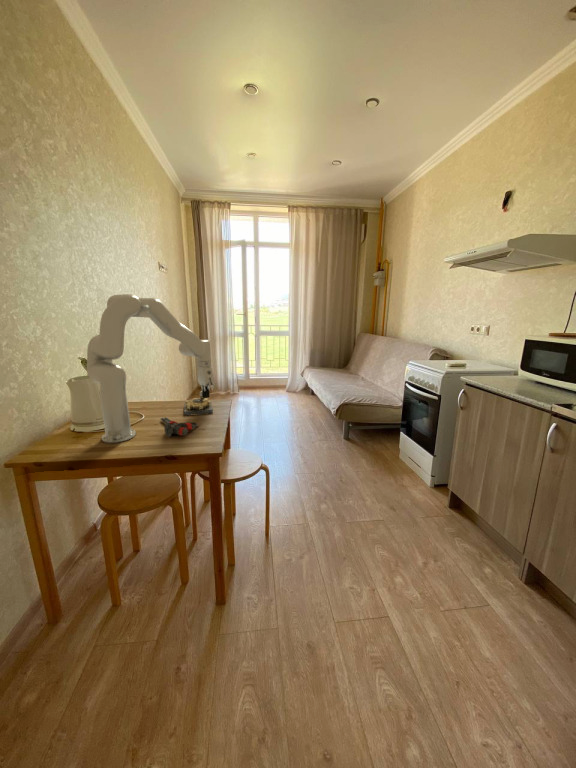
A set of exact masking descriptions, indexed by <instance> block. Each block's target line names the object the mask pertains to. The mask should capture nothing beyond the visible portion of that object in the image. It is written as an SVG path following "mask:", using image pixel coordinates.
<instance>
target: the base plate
mask: <svg viewBox="0 0 576 768" xmlns="http://www.w3.org/2000/svg"><path fill="white" fill-rule="evenodd" d="M209 401H210V403H211V405H210V406H208V407H206V408H203V409H187V406H186V405H185V404H184V407H183V409H184V410H183V411H184V412H183V413H184V414H183V415H188V416H192V415H191V414H198V415H203V414H202V413H209V414H213V413H214V412H213V411H214V410H213V405H212V401H211V400H209Z"/></svg>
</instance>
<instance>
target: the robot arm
mask: <svg viewBox="0 0 576 768" xmlns="http://www.w3.org/2000/svg"><path fill="white" fill-rule="evenodd" d="M132 317H133V318H148V319H150V320H151V321H152V322H153V323H154V325H156V326H157V327H158V328H159V329H160V331H161V332H162V333H164V334H165V335H166V336H168V337H169V338H171V339H174V340H176V341H178V342H180V344H179V345H178V350H179V353H180V354H182V355H183V356H186V357H194V358H195V359H196V361H195V362H196V373H197V374H196V376H197V377H196V378H197V383H198V384H199V385H200V387H201V391H202V395H203V398H208V399H209V398H210V390H211V389H212V386H214V384H215V381H214V372H213V368H212V352H211V351H212V350H211V341H209V340H208V339H200V337H199V336H198V335H197V334H196V333H195V332H193V331H192V330H191V329H190V328H188V327H186V325H184V324H182V323H181V322H180V321H178V319H177V318H176V317H175V316H174V315H173V314H172V312H171V311H170V310H169V309H168V308H167V307H166V305H165V304H164V303H163V302H162V301H161V300H160V299H158V298H155V297H138V296H136V295H134V294H129V293H128V294H114V295H112V296H110V297H108V299H107V300H106V308H105V309H104V310H103V312H102V315H101V317H100V324H99V333H98V334H96V335H95V336H93V337H91V339H90V340H89V341H88V345H87V350H86V351H87V352H86V355H87V358H86V373H87V376H88V379H89V380H91V381H92V382H94V383H96V384H98V385H99V402H100V408H101V413H102V420H103V425H104V426H103V427H104V432H105V433H104V434H102V436H101V441H103V442H104V443H106V444H108V443H110V444H114V443H120V442H125V441H128V440H130V439H132V438H134V437H135V436H136V434H137V433H136V430H135V429H133V428H132V427H131V425H132V424H131V420H130V419H131V418H130V410H129V403H128V397H127V396H128V395H127V374H126V371H125V369H124V368H123V367H122V366H120V365H118V364H117V363H113V361H114V360H118V359H120V358H121V357H123V354H124V349H125V330H126V324H127V323H128V321H129V319H131V318H132Z"/></svg>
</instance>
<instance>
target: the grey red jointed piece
mask: <svg viewBox="0 0 576 768" xmlns="http://www.w3.org/2000/svg"><path fill="white" fill-rule="evenodd" d="M160 420H161V421H162V422H163V423H165V425H164V433H165V436H167V438H171V437H172V434H175V435H179V436H186V435H187V434H188V432H189V431H190V432H192V431H193V430H194V429H195V428H197V427H198V423H197V422H191V421H190V422H188V421H187V422H177V421H175V420H171V419H170V418H167V417H166V416H165V417H161V418H160ZM191 430H192V431H191Z"/></svg>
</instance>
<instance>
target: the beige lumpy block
mask: <svg viewBox="0 0 576 768" xmlns="http://www.w3.org/2000/svg"><path fill="white" fill-rule="evenodd" d="M202 391H203V390H201V391H199V397H198V398H197V397H194V398H193V397H192V398H191V399H189V400H185V401H184V406H185V405H186V406H187V409H203V408H206V407H208V406H210V405H211V404H212V402H211V403H210V401H211V400H209V397H208V398H203V395H202Z"/></svg>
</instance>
